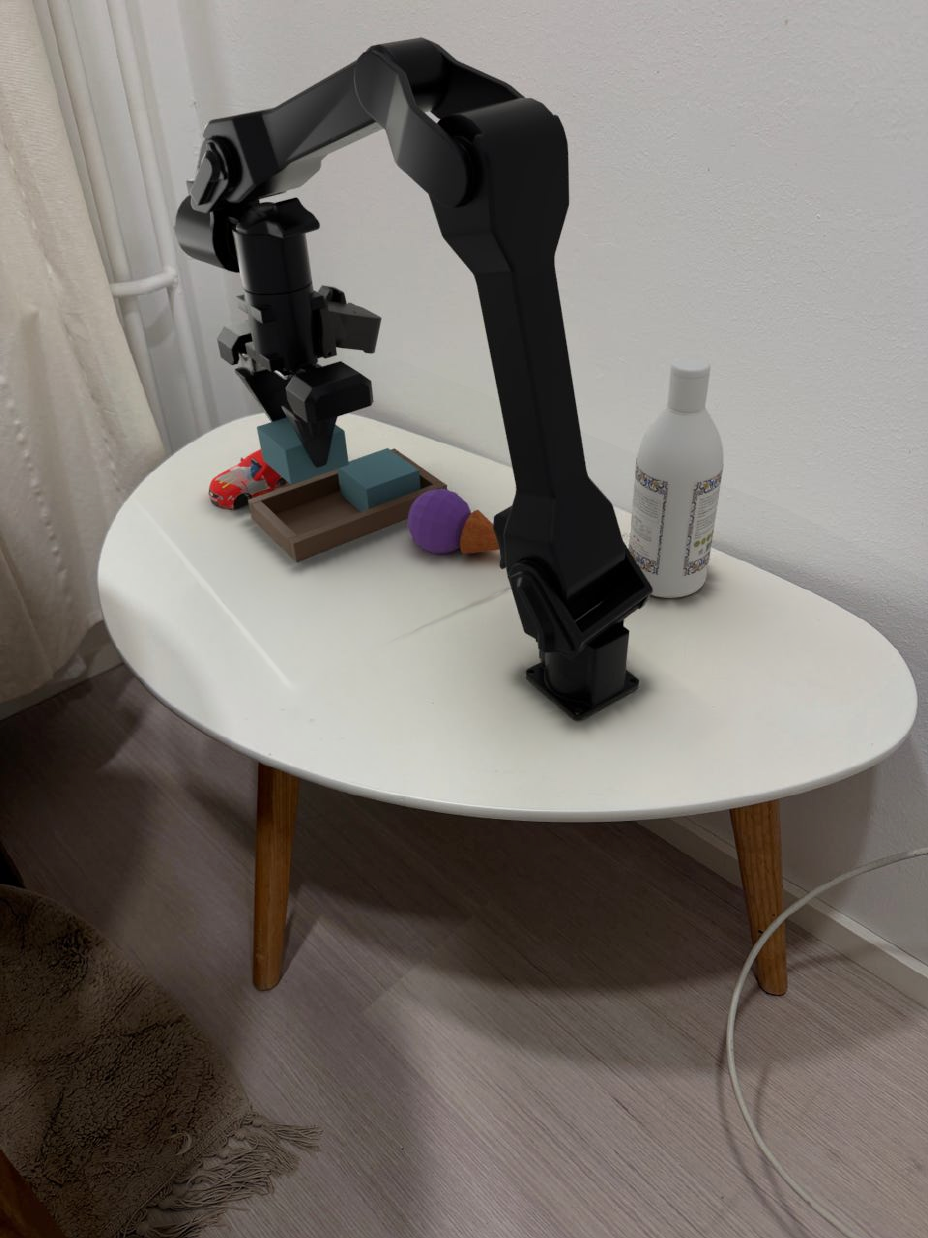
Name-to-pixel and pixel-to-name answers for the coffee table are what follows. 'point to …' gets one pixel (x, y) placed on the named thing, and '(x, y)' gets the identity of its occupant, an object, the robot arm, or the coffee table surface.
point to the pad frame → (327, 513)
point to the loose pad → (297, 452)
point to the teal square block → (377, 479)
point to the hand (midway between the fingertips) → (305, 452)
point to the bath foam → (677, 486)
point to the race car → (244, 482)
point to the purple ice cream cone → (449, 524)
